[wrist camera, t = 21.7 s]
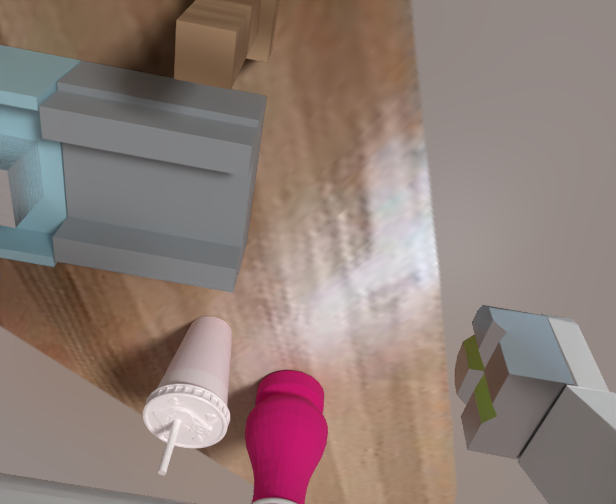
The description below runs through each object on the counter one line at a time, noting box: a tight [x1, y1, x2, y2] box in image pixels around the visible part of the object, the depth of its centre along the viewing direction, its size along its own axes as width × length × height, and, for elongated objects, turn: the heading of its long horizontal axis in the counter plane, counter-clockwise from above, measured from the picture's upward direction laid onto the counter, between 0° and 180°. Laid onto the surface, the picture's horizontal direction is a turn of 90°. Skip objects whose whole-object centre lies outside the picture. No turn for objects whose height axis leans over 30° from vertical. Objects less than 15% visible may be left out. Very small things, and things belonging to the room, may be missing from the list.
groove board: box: [39, 61, 267, 292], centre depth 39 cm, size 12×12×6 cm
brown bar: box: [174, 0, 280, 90], centre depth 30 cm, size 6×4×12 cm
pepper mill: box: [245, 370, 328, 504], centre depth 46 cm, size 7×7×20 cm
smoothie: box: [143, 316, 232, 475], centre depth 45 cm, size 6×6×14 cm
